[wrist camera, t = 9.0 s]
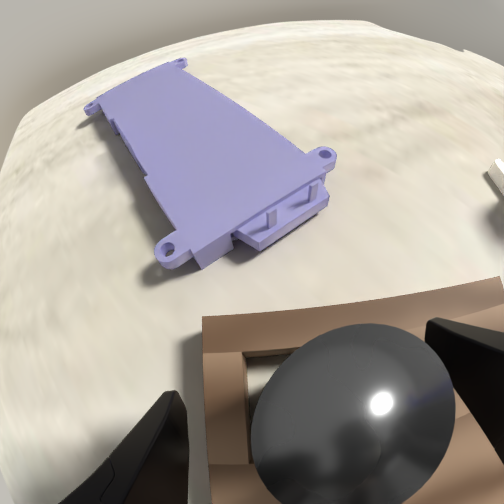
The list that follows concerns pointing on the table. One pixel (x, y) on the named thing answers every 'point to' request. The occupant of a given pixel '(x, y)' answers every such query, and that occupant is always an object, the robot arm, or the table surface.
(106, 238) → the table surface
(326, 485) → the stool leg
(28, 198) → the table surface
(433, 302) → the walnut stool seat
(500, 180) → the cable organizer
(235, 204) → the computer part
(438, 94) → the table surface
